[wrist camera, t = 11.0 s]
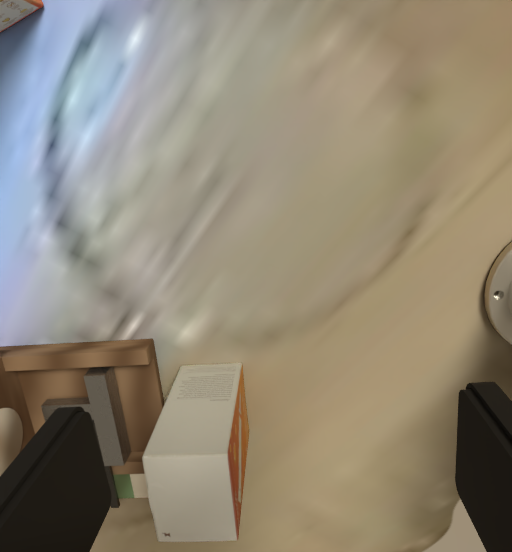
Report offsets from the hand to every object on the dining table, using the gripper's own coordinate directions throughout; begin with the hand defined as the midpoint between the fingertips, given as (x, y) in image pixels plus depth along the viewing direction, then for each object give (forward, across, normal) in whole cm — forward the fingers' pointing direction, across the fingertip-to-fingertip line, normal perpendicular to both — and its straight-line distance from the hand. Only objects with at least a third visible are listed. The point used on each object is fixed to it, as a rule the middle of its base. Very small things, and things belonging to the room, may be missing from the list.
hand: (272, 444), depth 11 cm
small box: (+28, +8, +17) cm, 34 cm away
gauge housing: (+28, +21, +19) cm, 40 cm away
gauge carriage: (+27, +21, +19) cm, 39 cm away
